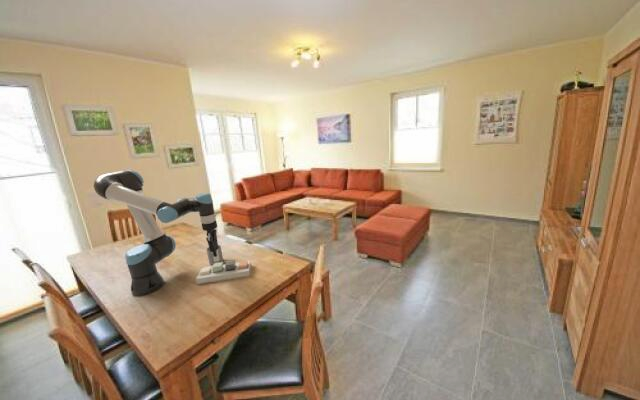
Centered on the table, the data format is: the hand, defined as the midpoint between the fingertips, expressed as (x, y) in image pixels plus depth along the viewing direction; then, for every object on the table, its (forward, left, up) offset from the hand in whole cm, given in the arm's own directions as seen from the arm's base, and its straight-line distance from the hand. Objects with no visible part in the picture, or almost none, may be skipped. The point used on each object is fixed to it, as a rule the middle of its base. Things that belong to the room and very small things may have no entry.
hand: (216, 260), depth 142 cm
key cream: (-7, 0, -9) cm, 11 cm away
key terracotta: (+14, 0, -9) cm, 16 cm away
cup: (-6, +18, -10) cm, 21 cm away
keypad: (+3, 0, -10) cm, 10 cm away
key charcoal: (+7, 0, -7) cm, 10 cm away
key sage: (0, 0, -7) cm, 7 cm away
